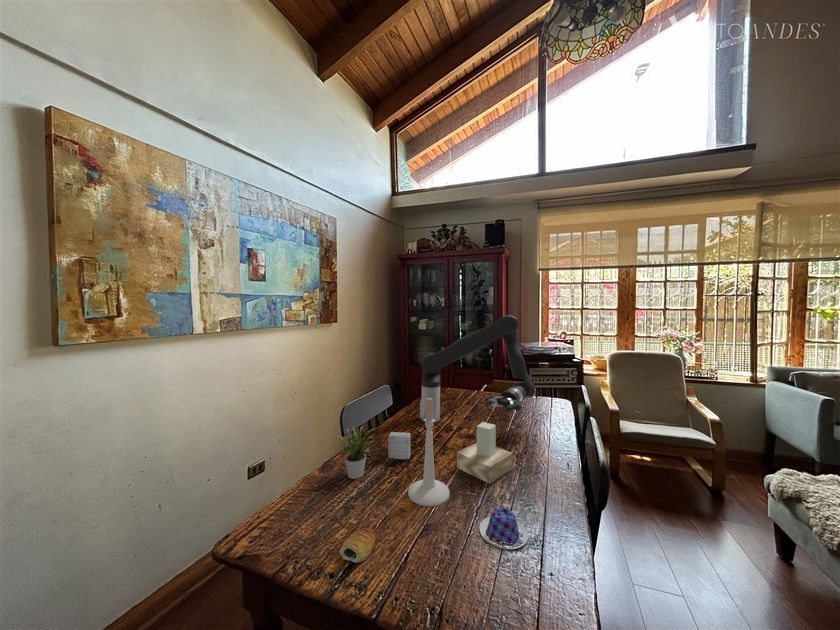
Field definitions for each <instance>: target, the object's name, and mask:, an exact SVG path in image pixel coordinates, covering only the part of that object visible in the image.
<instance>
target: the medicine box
mask: <svg viewBox="0 0 840 630" xmlns="http://www.w3.org/2000/svg"><path fill="white" fill-rule="evenodd" d="M387 440H388V459H389V458H391V459H392V458H393V459H392V460H407V459H409V460H410V457H411V433H410V432H394V431H391V432H390V433H389V435H388V439H387Z"/></svg>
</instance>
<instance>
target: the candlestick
mask: <svg viewBox="0 0 840 630" xmlns="http://www.w3.org/2000/svg"><path fill="white" fill-rule="evenodd" d="M423 422H424V423H425V424H424V426H425V427H426V431H425V445H424V446H425V447H424V462H423V476H422V478H423V479H419V480H417V481H415V482H413V483H412V484H410V486H409V487H408V489H407V496H408V497H409V499H410V501H412V502H413V503H414V504H416V505H420V506H422V507H436V506H440V505H443V504H444V503H446V502H447V501H448V500H449V498H450V494H451V492H450V489H449V487H448V486H447V485H446V484H445V483H444V482H442V481H440V480H437V479H436V478H435V464H434V458H435V457H434V438H433V437H434V436H433V427H434V425H435V424H434V423H436V422H435V419H433V399H432V398H430V397H429V398H427V399H426V419H424V421H423Z"/></svg>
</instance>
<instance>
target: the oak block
mask: <svg viewBox="0 0 840 630" xmlns="http://www.w3.org/2000/svg"><path fill="white" fill-rule="evenodd" d="M476 446H477V441H475V443H473V444H470V445H469V446H467V447H465V448H463V449H460V450H458V451H457V452H456V469H458V470H461V471H462V470H463V472H464V473H466V474H469V475H471V476H473V477H475V478H477V479H479V480H481V481H484V482H486V483H487V484H492V483H493V482H495V481H496V480H498V479H500V478H501V477H503V476H504V475H506V473H508V472H510V471H512V469H513V464H514V463H513V462H514V461H513V460H514V459H513V458H514V457H513V455H514V453H513V452H511V451H508V450H505V449H503V448H501V447H497V446H496V449H495V454H494V455H493V456H492V457H490V458H487V457H484V456H481V455H478V454H476Z"/></svg>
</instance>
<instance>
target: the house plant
mask: <svg viewBox="0 0 840 630" xmlns="http://www.w3.org/2000/svg"><path fill="white" fill-rule="evenodd" d="M363 425H364V424H363ZM363 425H361V427H360V429H359V432H358V434H357V431H356V429H355V427H354V426H353V425H352V426H351V427H352V431H353V433H352V431H350V429H349V428H348V427H346V430H347V435H348V439H349V440H348V441H346V440H345V439H344V438H343V437H342V436H340V435H337V434H336V435H334V436H336V437H338V438H340V439H341V440H342V441H343V442H344V443H345V444H346V445H347V447H346V446H345V445H343V444H341V443H340V444H339V445H340V446H341V447H342V449H338V450H337V452H340V453H343V454H346V455H345V457H344V461H345V466H346V467H345V468H346V472H347V477H348V478H349V479H351V480H352V479H353V480H354V479H355V480H356V479H360V478H362V477H363V475H364V472H365V467H366V459H367V456H368V455H367V453H368V454H369V453H370V448H368V446H369V445H371V443H373V442H374V440H372V441H369V442H368V440H369V439H374V438H375V437H374V436H375V435H376V434H371V435H369V434H370V433H371V432H372V431H373V430H376V429H377V428H371V429H370V430H367V432H366V433H365V434H364V435H363V431H364V430H363V429H364V428H363V427H364V426H363ZM353 435H354V436H353ZM368 435H369V436H368ZM362 436H363V437H362ZM367 436H368V437H367Z"/></svg>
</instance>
